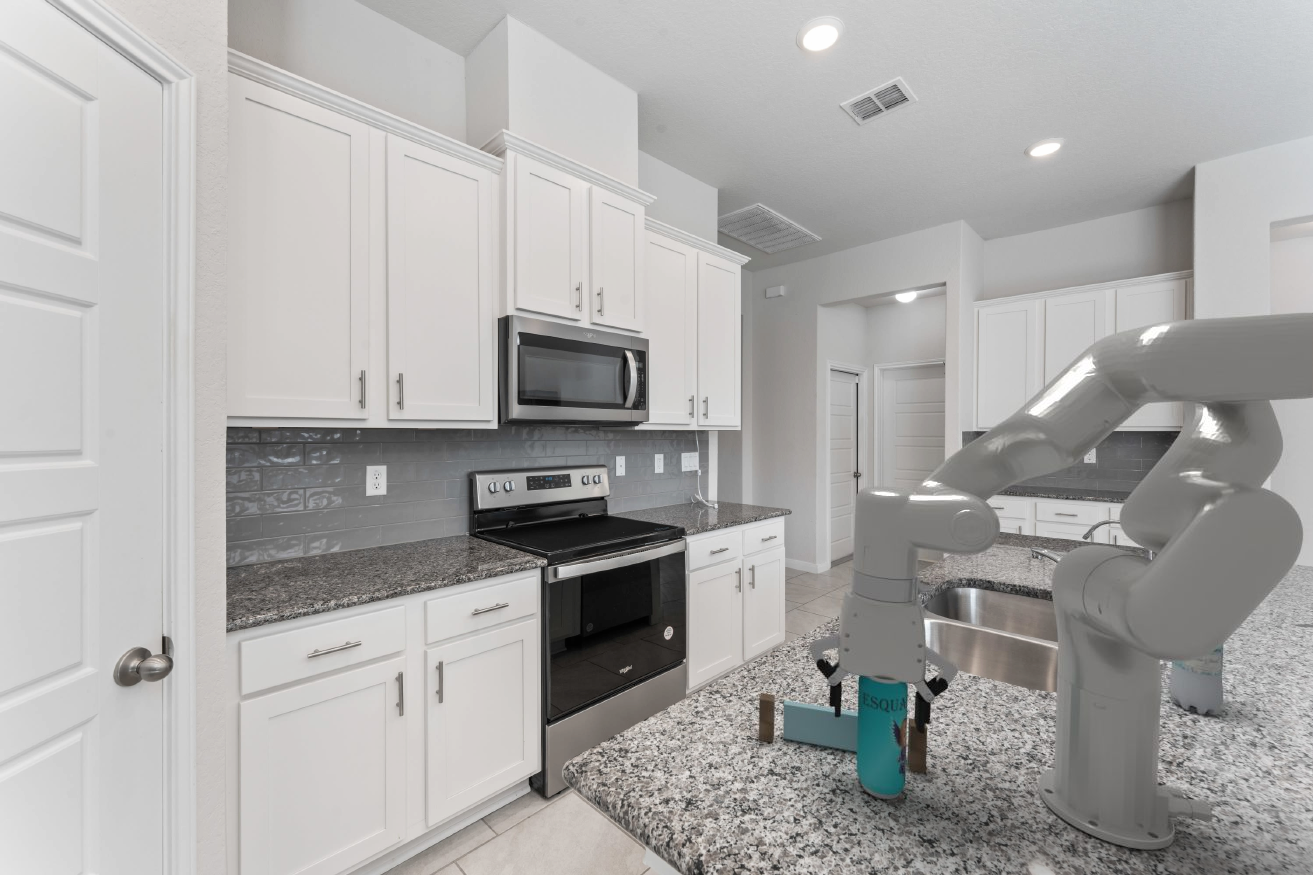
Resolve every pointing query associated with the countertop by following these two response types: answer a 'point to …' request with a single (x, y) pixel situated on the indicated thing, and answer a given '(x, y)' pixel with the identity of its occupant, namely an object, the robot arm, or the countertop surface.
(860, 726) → the beverage can
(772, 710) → the twin wooden posts
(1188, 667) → the bottle
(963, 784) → the countertop surface
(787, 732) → the gate door
